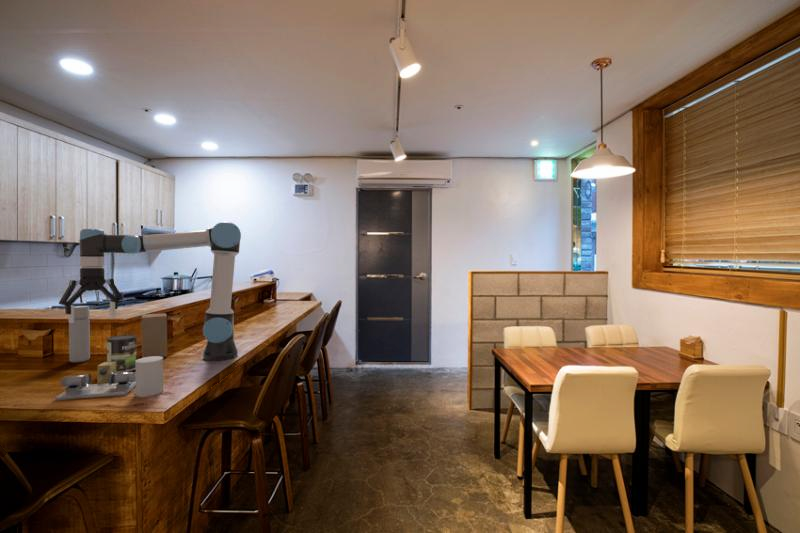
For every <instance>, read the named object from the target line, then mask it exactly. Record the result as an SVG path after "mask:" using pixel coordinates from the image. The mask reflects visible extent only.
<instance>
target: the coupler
mask: <svg viewBox="0 0 800 533" xmlns="http://www.w3.org/2000/svg"><path fill="white" fill-rule="evenodd" d="M96 368H97V369H96V370H97V374H96V376H97V378H96V379H97V382H96V384H104V383H108V377H109V374H110V373H111V372H115V373H116V361H115V362H107V361H104V362H103V361H102V363H99V364H98V365H97V366H96Z"/></svg>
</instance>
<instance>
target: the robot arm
mask: <svg viewBox="0 0 800 533" xmlns="http://www.w3.org/2000/svg"><path fill="white" fill-rule="evenodd" d="M241 236H242V233H241V230H240V228H239V227H238V226H237V224H235V223H233V222H232V221H231V222H230V221H221V222H218V223H216V224H215V225H214V226H213V227H207V228H206V230H194V231H193V230H192V231H184V232H183V231H182V232H171V233H170V232H169V233H158V234H157V233H155V234H146V235H132V234H106V233H105V230H104V229H99V228H98V229H97V228H83V229H81V230H80V232H79V267H81V268H80V269H79V280H75V279H71V280H69V284H68V287H67V289H66V290H65V291H64V294H63V295H62V297H61V298H60V300H59V302H58V304H59V305H62V306H64V307H65V315H68V318H69V319H68V323H69V322H70V323H74V307H75V305H73V304H74V303H75V302H76V301H77V300H78V299H79V298H80V297H81V296H82V295H83V294H84V293H86V292H87V291H89V292H90V291H91V292H92V291H101V292H102V293H103V294H104V296H106V297H107V298H108V299H109V300H110V301H109V318H112V319H115V318H116V310H118V309H119V308H118V304H119V302H120V301H123V299H124V298H123V296H122V294H121V292H120V291H119V289H118V288H117V286H116V284H115V281H114V278H108V279H106V278H105V268H104V267H105V254H135V255H136V254H139V253H141V254H142V253H148V252H149V253H150V252H158V251H159V252H160V251H169V250H170V251H171V250H179V249H180V250H181V249H190V248H199V247H201V248H202V247H203V248H204V247H210V251H211V253H212V254H213V266H212V277H211V287H210V299H209V300H210V302H209V303H210V304H209V308H208V309H206V310H205V315H204V324H203V327H202V334H203V336H204V338H205V340H206V344H205V347H204V351H203V353H202V358H203V360H205V361H224V360H223V359H225V360H229V359H228V358H230V359H233V358H235V357H234V356H236V355H237V354H239V353H238V347H237V346H236V342H235V340H234V336H235V334H234V332H235V330H234V329H235V328H234V327H235V324H234V322H235V320H234V318H235V311H234V309H232V297H233V296H232V295H233V286H234V285H233V284H234V274H235V273H234V272H235V262H236V256H237V255H239V254H240V246H241V238H242V237H241ZM105 284H106V285H108V286H109V287H108V288H110V290H111V291H112V292H110V291H109V289H107V288H106V286H104V285H105ZM78 285H80V287H78ZM76 286H77V287H78V289H77V291H76V292H75V293H74V294H72V293H73V292H74V290H75V288H76ZM237 356H238V355H237ZM237 356H236V357H237ZM232 357H233V358H232Z"/></svg>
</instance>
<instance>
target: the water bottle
mask: <svg viewBox="0 0 800 533" xmlns="http://www.w3.org/2000/svg"><path fill="white" fill-rule="evenodd" d="M90 312H91V311H90V306H89V305H77V306H75V305H74V323H70V322H69V321H68V343H69V344H68V354H69V355H68V358H69V360H68V361H69V362H70V363H73V364H74V363H83V362H87V361H89V359H90V358H91V350H90V349H91V347H90V346H91V345H90V344H91V340H90V337H91V336H90V335H91V334H90V332H91V331H90V328H91V327H90V326H91V324H90V317H91V314H90ZM67 319H68V320H69V317H67Z"/></svg>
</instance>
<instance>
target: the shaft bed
mask: <svg viewBox="0 0 800 533" xmlns="http://www.w3.org/2000/svg"><path fill="white" fill-rule="evenodd" d="M91 382H92V375H91V373H85V374H82V375H81V374H80V375H67V376H66V375H65V376H63V377H62V378H61V381H60V385H61V387H62V388H65V391H63V392H62V393H60V394H58V395H56V396H55V401H63V400H74V399H75V400H76V399H91V398H101V397H103V398H104V397H115V396H126V395H127V394H128V393H129V392H130V391H132V390H133V389H134V388H136V371H135V372H134V371H129V372H124V373H115V372H111V373H110V374H109V377H108V383H104V384H97V383H93V384H91Z"/></svg>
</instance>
